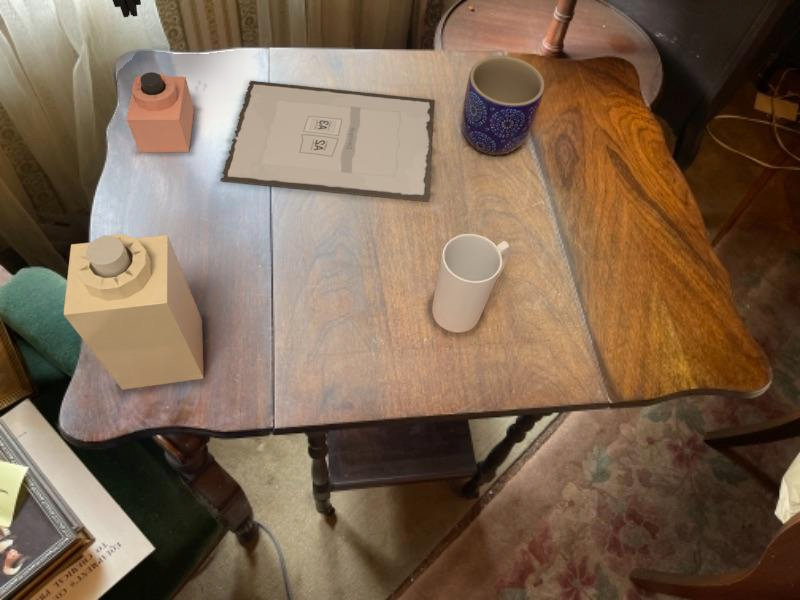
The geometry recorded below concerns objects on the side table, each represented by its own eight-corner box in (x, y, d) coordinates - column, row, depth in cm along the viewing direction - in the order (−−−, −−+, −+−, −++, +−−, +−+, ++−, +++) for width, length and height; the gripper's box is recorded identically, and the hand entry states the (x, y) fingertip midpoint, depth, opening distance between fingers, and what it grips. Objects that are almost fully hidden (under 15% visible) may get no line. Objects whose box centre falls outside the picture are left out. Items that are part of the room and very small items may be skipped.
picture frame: (220, 181, 86) (429, 202, 87) (219, 179, 86) (429, 200, 87) (249, 81, 98) (434, 100, 99) (249, 79, 97) (434, 98, 98)
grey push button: (92, 279, 55) (84, 266, 53) (95, 251, 57) (87, 237, 55) (129, 275, 55) (122, 262, 54) (131, 247, 57) (124, 234, 55)
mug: (450, 344, 75) (467, 292, 65) (419, 305, 78) (430, 249, 68) (511, 307, 79) (536, 252, 69) (479, 271, 82) (498, 213, 71)
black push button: (142, 95, 84) (138, 85, 82) (145, 82, 85) (141, 71, 83) (163, 96, 84) (160, 85, 82) (165, 82, 85) (162, 72, 84)
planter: (443, 126, 96) (454, 66, 86) (500, 107, 99) (516, 47, 90) (481, 172, 91) (497, 114, 82) (539, 150, 95) (561, 92, 85)
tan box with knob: (122, 389, 69) (54, 303, 53) (125, 329, 73) (62, 231, 57) (203, 378, 70) (161, 291, 54) (202, 319, 75) (162, 221, 58)
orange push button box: (139, 152, 88) (122, 109, 81) (147, 110, 93) (131, 65, 86) (188, 152, 89) (176, 109, 82) (194, 110, 94) (182, 65, 87)
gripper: (148, -185, 62) (189, -14, 78) (-11, -179, 59) (65, -2, 75) (154, -150, 59) (195, 22, 74) (-15, -142, 56) (65, 36, 71)
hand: (130, 9), depth 74 cm, fingers closed
